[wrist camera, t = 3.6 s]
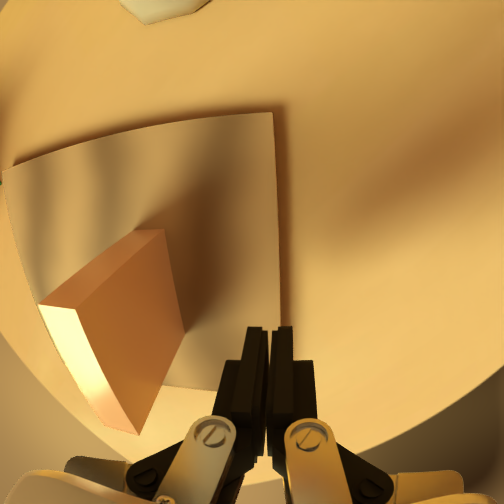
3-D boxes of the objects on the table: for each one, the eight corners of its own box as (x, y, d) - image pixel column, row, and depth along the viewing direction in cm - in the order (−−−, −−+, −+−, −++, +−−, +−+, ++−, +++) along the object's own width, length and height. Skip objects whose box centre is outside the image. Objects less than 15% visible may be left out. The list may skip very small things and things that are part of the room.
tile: (164, 228, 15) (75, 309, 8) (185, 334, 18) (139, 435, 10) (130, 230, 15) (35, 303, 8) (155, 331, 18) (101, 425, 10)
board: (273, 114, 13) (272, 112, 12) (280, 382, 20) (280, 393, 19) (11, 168, 16) (1, 171, 15) (69, 356, 22) (63, 363, 21)
